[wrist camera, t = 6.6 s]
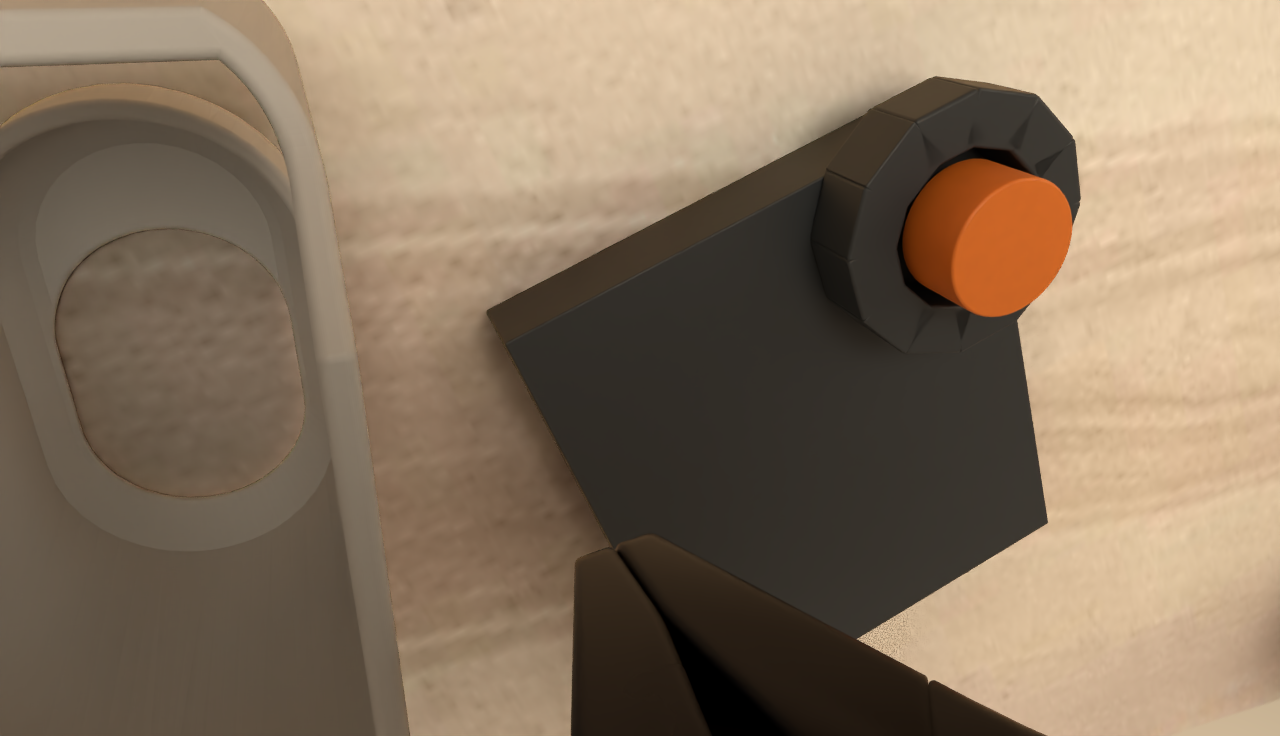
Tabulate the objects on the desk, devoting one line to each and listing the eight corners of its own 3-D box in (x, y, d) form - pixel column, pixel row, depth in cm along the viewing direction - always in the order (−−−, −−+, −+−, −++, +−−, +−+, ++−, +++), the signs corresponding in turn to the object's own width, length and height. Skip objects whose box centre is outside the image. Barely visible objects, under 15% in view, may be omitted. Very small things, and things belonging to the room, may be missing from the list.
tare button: (888, 196, 19) (941, 219, 18) (1006, 134, 20) (1066, 151, 18) (914, 312, 21) (965, 342, 19) (1022, 252, 21) (1080, 277, 20)
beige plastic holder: (284, -40, 16) (323, 33, 6) (367, 532, 22) (460, 1066, 12) (-174, -39, 14) (-1251, 74, 4) (46, 594, 20) (-179, 1314, 10)
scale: (466, 275, 20) (502, 337, 17) (957, 24, 22) (1067, 41, 19) (683, 683, 28) (733, 773, 25) (1029, 475, 30) (1115, 538, 27)
